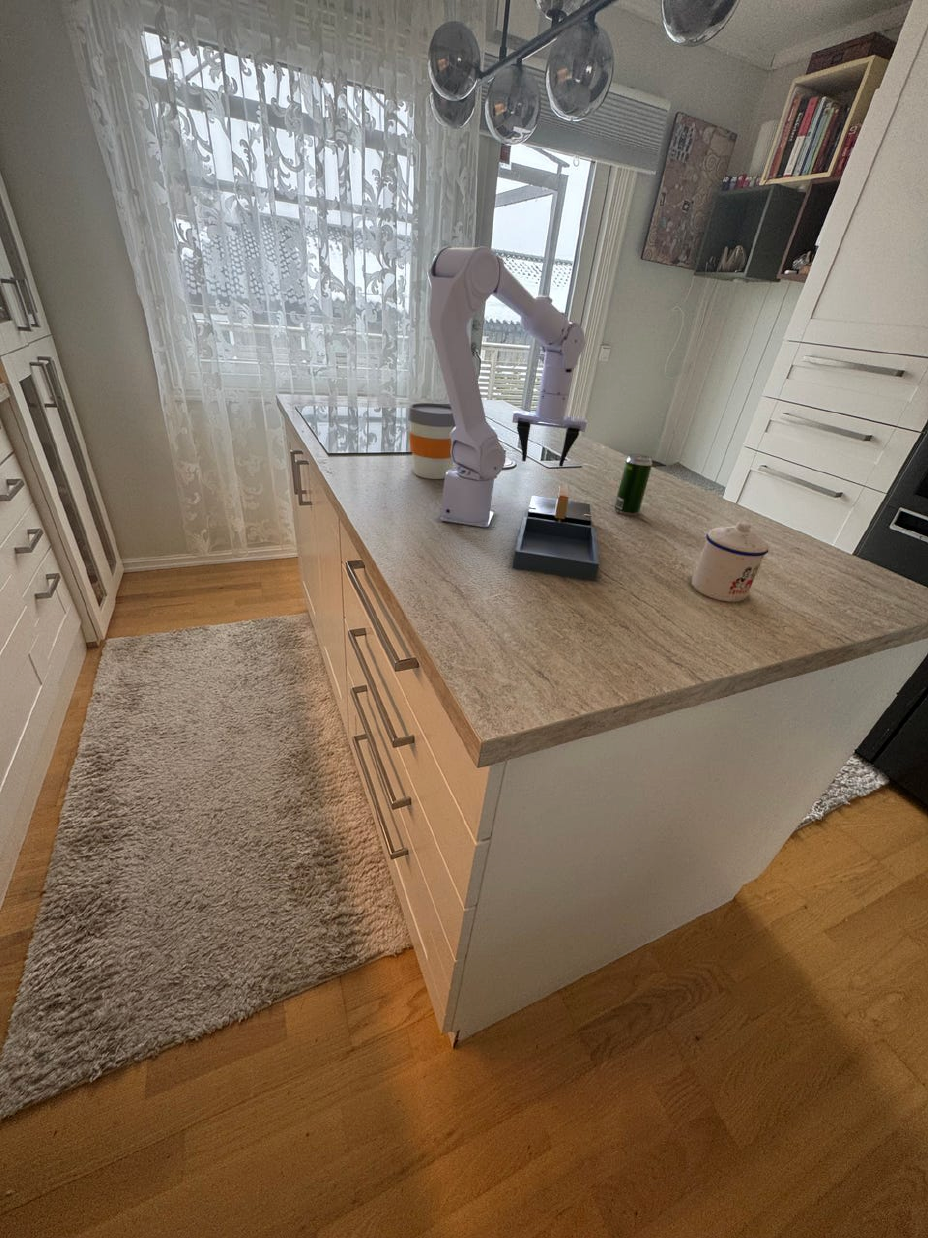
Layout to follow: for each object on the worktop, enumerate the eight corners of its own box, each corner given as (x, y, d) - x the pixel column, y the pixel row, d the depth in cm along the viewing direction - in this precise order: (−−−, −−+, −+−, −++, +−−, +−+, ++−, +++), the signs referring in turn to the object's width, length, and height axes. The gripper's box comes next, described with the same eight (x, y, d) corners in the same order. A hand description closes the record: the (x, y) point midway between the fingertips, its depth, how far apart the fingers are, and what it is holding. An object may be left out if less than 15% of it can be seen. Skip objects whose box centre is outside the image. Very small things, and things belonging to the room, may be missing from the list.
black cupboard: (528, 511, 109) (531, 494, 107) (586, 519, 108) (590, 503, 106) (523, 535, 98) (526, 517, 96) (588, 545, 96) (592, 526, 94)
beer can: (627, 517, 111) (642, 461, 105) (608, 509, 115) (622, 454, 109) (643, 514, 114) (659, 459, 108) (624, 506, 118) (638, 452, 111)
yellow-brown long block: (555, 504, 104) (559, 483, 101) (564, 505, 103) (568, 484, 101) (554, 517, 97) (558, 496, 95) (564, 519, 97) (568, 497, 95)
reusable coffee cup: (457, 483, 121) (462, 416, 113) (403, 478, 120) (405, 410, 112) (458, 468, 131) (463, 405, 124) (409, 463, 131) (411, 400, 123)
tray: (512, 568, 85) (515, 550, 84) (520, 531, 99) (523, 515, 98) (595, 581, 84) (599, 564, 82) (591, 541, 98) (595, 526, 96)
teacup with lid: (734, 609, 80) (764, 539, 74) (679, 586, 85) (703, 519, 79) (762, 588, 87) (791, 523, 81) (710, 567, 92) (734, 505, 86)
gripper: (591, 393, 103) (577, 462, 110) (518, 385, 104) (509, 453, 111) (592, 399, 97) (577, 471, 104) (515, 389, 98) (506, 461, 105)
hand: (542, 462), depth 107 cm, fingers open, 7 cm apart
